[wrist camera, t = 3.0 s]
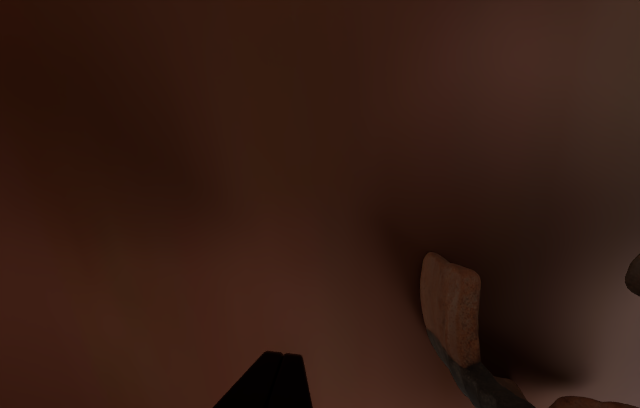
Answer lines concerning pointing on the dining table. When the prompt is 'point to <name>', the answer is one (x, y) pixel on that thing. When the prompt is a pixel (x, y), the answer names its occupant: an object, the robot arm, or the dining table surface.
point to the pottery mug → (462, 335)
